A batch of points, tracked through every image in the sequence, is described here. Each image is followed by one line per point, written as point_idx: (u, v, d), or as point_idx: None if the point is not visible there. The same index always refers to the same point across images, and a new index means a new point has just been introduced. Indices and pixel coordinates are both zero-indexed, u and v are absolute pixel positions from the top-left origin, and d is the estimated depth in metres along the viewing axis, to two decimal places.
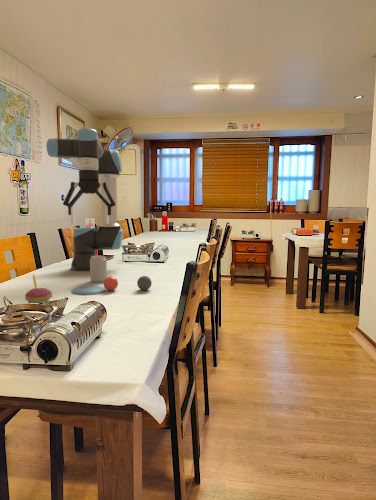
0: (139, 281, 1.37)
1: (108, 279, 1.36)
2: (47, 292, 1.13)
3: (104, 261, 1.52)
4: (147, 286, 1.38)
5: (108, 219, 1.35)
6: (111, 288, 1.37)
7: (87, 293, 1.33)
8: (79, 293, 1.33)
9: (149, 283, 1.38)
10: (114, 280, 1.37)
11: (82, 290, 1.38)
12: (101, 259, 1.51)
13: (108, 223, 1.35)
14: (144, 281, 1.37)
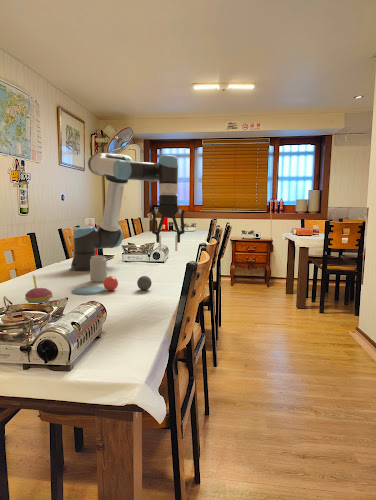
0: (139, 281, 1.37)
1: (108, 279, 1.36)
2: (47, 292, 1.13)
3: (104, 261, 1.52)
4: (147, 286, 1.38)
5: None
6: (111, 288, 1.37)
7: (87, 293, 1.33)
8: (79, 293, 1.33)
9: (149, 283, 1.38)
10: (114, 280, 1.37)
11: (82, 290, 1.38)
12: (101, 259, 1.51)
13: None
14: (144, 281, 1.37)
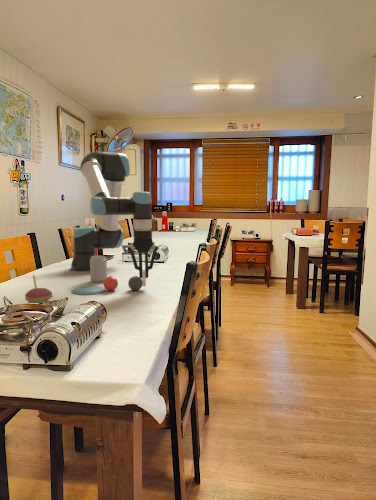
0: (129, 284, 1.37)
1: (108, 279, 1.36)
2: (47, 292, 1.13)
3: (104, 261, 1.52)
4: (138, 284, 1.37)
5: None
6: (111, 288, 1.37)
7: (87, 293, 1.33)
8: (79, 293, 1.33)
9: (139, 281, 1.37)
10: (114, 280, 1.37)
11: (82, 290, 1.38)
12: (101, 259, 1.51)
13: None
14: (133, 281, 1.37)
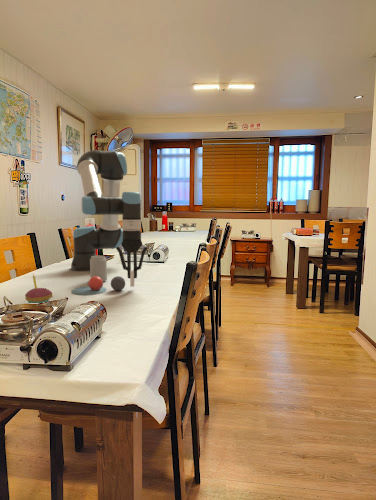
0: (118, 289, 1.37)
1: (90, 287, 1.37)
2: (47, 292, 1.13)
3: (104, 261, 1.52)
4: (117, 281, 1.36)
5: None
6: (96, 281, 1.36)
7: (87, 293, 1.33)
8: (79, 293, 1.33)
9: (113, 280, 1.36)
10: (89, 282, 1.37)
11: (82, 290, 1.38)
12: (101, 259, 1.51)
13: None
14: (114, 286, 1.36)
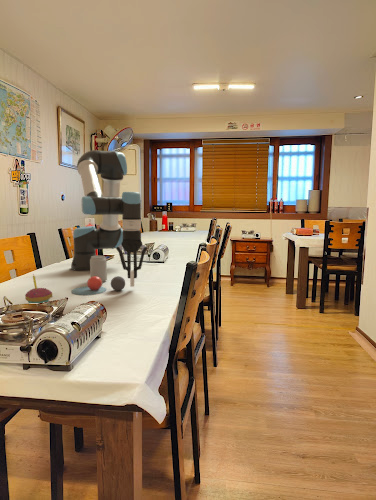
0: (118, 289, 1.37)
1: (90, 288, 1.37)
2: (47, 292, 1.13)
3: (104, 261, 1.52)
4: (117, 281, 1.36)
5: None
6: (95, 281, 1.36)
7: (87, 293, 1.33)
8: (79, 293, 1.33)
9: (113, 280, 1.36)
10: (87, 282, 1.37)
11: (82, 290, 1.38)
12: (101, 259, 1.51)
13: None
14: (114, 286, 1.36)
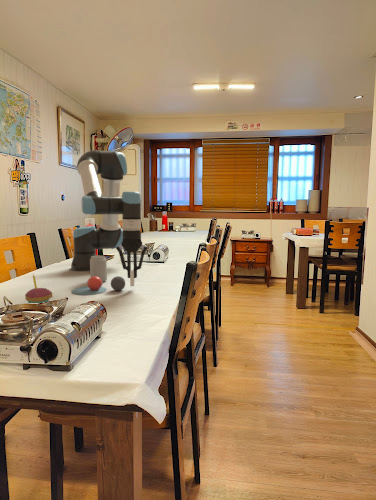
0: (118, 289, 1.37)
1: (90, 288, 1.37)
2: (47, 292, 1.13)
3: (104, 261, 1.52)
4: (117, 281, 1.36)
5: None
6: (95, 281, 1.36)
7: (87, 293, 1.33)
8: (79, 293, 1.33)
9: (113, 280, 1.36)
10: (87, 282, 1.37)
11: (82, 290, 1.38)
12: (101, 259, 1.51)
13: None
14: (114, 286, 1.36)
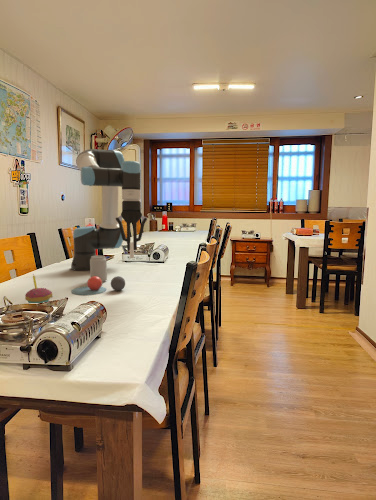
0: (118, 289, 1.37)
1: (90, 288, 1.37)
2: (47, 292, 1.13)
3: (104, 261, 1.52)
4: (117, 281, 1.36)
5: None
6: (95, 281, 1.36)
7: (87, 293, 1.33)
8: (79, 293, 1.33)
9: (113, 280, 1.36)
10: (87, 282, 1.37)
11: (82, 290, 1.38)
12: (101, 259, 1.51)
13: None
14: (114, 286, 1.36)
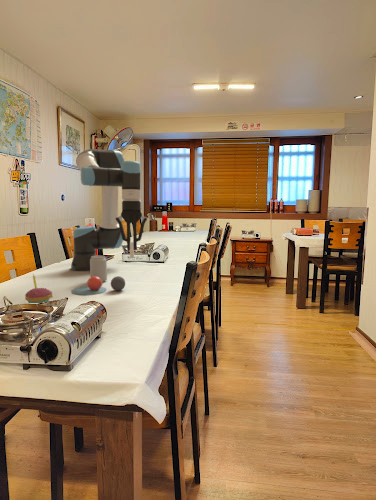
0: (118, 289, 1.37)
1: (90, 288, 1.37)
2: (47, 292, 1.13)
3: (104, 261, 1.52)
4: (117, 281, 1.36)
5: None
6: (95, 281, 1.36)
7: (87, 293, 1.33)
8: (79, 293, 1.33)
9: (113, 280, 1.36)
10: (87, 282, 1.37)
11: (82, 290, 1.38)
12: (101, 259, 1.51)
13: None
14: (114, 286, 1.36)
